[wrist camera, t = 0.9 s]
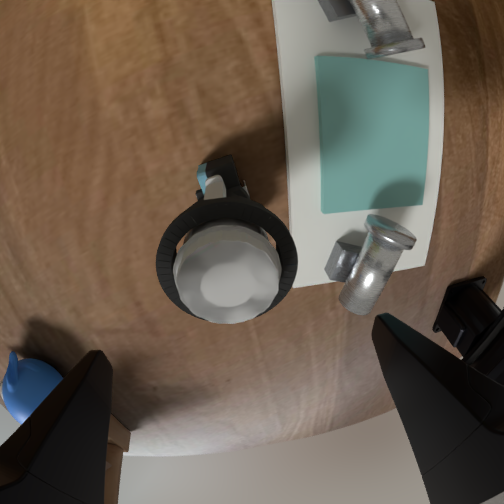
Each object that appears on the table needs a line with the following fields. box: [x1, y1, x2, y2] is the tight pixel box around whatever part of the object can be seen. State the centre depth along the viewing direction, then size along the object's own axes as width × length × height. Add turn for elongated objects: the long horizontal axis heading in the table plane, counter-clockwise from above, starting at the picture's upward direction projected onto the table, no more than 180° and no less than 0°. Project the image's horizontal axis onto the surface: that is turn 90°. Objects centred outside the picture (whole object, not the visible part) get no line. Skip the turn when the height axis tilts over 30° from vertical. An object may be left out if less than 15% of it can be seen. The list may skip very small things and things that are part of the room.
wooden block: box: [104, 414, 131, 504], centre depth 24 cm, size 4×11×18 cm, turn 10°
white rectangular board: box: [272, 0, 444, 288], centre depth 17 cm, size 12×22×1 cm, turn 5°
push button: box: [156, 155, 298, 324], centre depth 15 cm, size 7×5×10 cm
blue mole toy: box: [0, 351, 63, 425], centre depth 22 cm, size 12×12×8 cm
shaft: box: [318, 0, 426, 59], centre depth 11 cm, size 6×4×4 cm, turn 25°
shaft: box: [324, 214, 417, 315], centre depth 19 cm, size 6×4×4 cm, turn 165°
